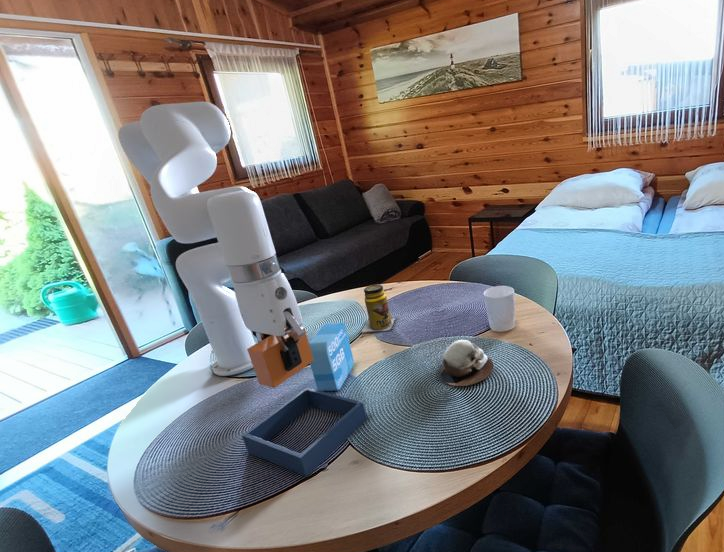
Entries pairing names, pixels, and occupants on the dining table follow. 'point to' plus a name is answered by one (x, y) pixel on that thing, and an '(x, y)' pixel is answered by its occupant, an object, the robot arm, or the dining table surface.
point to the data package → (331, 356)
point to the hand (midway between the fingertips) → (284, 363)
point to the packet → (276, 360)
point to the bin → (321, 447)
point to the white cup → (500, 307)
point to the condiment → (377, 309)
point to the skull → (465, 364)
